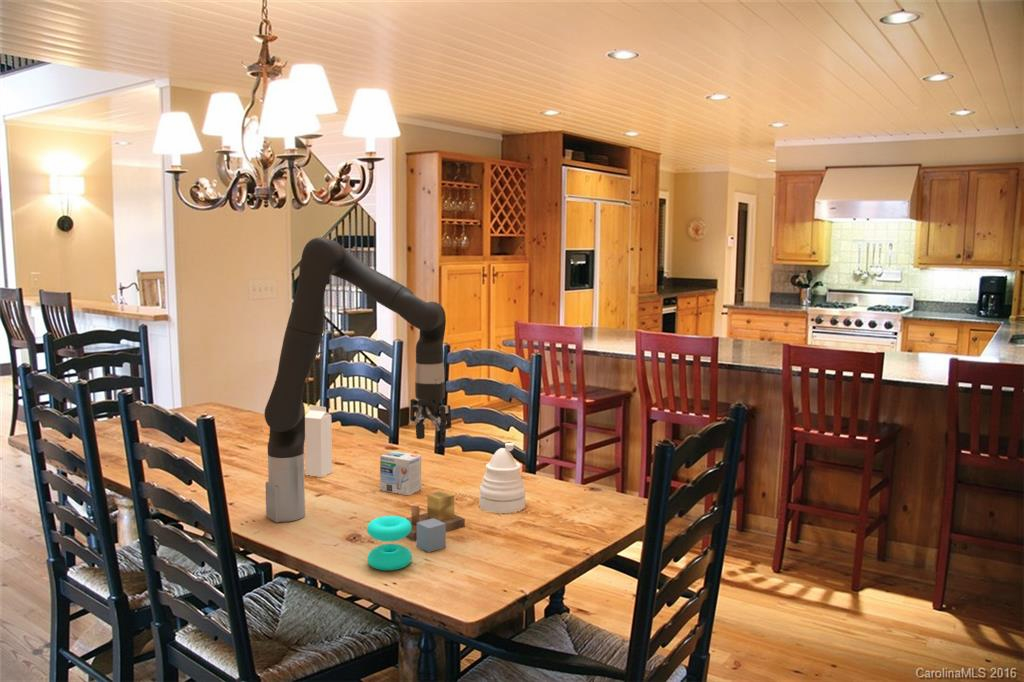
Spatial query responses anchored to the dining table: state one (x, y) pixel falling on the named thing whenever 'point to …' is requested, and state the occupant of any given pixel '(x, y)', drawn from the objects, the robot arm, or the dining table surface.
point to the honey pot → (502, 484)
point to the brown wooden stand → (436, 513)
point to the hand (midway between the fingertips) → (430, 441)
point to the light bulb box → (400, 473)
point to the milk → (318, 442)
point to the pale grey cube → (431, 535)
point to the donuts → (389, 553)
